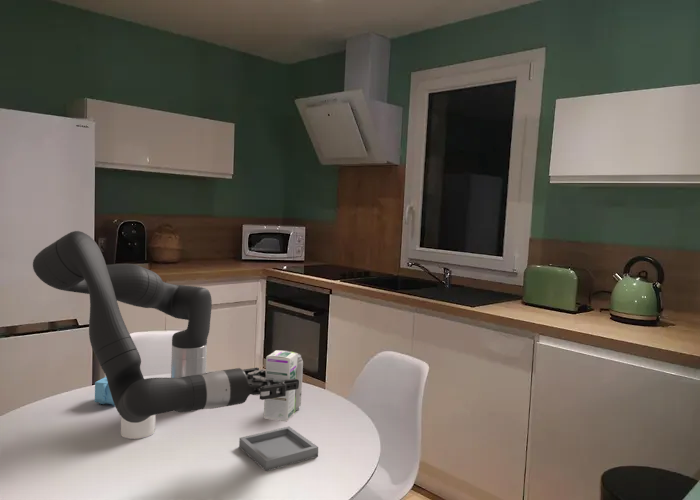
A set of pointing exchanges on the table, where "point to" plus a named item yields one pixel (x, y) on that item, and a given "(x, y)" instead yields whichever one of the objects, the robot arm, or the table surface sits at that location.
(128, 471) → the table surface
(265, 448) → the tray
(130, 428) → the pill bottle
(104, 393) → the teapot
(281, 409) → the syrup box
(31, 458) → the table surface
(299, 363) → the energy drink can
